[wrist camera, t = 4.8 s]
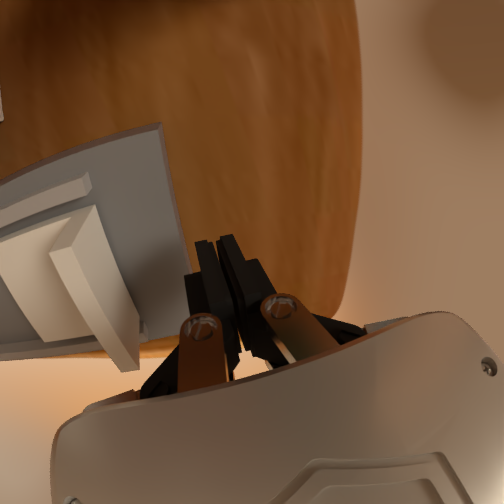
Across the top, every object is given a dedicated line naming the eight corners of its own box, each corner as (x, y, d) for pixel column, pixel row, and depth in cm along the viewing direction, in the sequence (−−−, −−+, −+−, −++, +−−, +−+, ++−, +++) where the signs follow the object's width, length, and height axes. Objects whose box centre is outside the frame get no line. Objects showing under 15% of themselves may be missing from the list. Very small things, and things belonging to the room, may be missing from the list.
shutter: (95, 204, 11) (71, 246, 7) (139, 316, 14) (139, 369, 11) (-7, 240, 9) (-39, 283, 6) (47, 333, 13) (35, 380, 10)
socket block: (161, 122, 14) (156, 131, 9) (194, 281, 21) (207, 339, 16) (-45, 207, 10) (-85, 245, 6) (12, 320, 17) (-6, 369, 12)
